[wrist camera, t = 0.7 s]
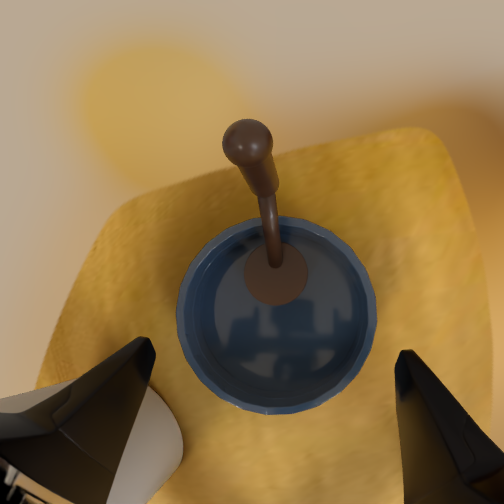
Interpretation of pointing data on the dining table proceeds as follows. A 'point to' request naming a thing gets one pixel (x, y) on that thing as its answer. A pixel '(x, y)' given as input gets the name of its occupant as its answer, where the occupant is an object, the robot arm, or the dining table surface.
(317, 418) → the dining table surface
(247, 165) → the ladle
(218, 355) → the bowl
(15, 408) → the cylinder vase
